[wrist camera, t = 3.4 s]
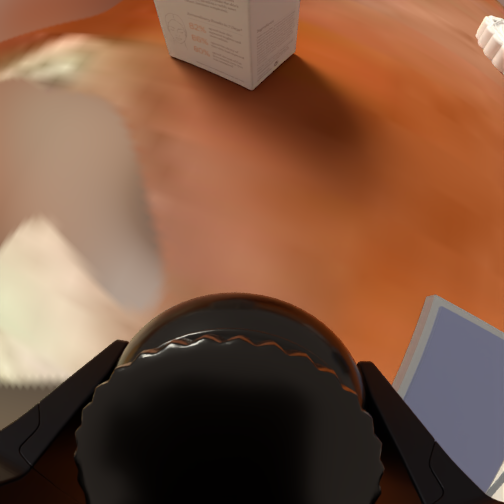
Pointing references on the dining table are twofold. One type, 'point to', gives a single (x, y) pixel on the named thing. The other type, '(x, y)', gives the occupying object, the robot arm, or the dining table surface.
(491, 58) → the mooncake
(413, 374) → the pad
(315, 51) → the dining table surface
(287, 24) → the small box
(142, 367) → the supplement bottle
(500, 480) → the marked card
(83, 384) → the robot arm
